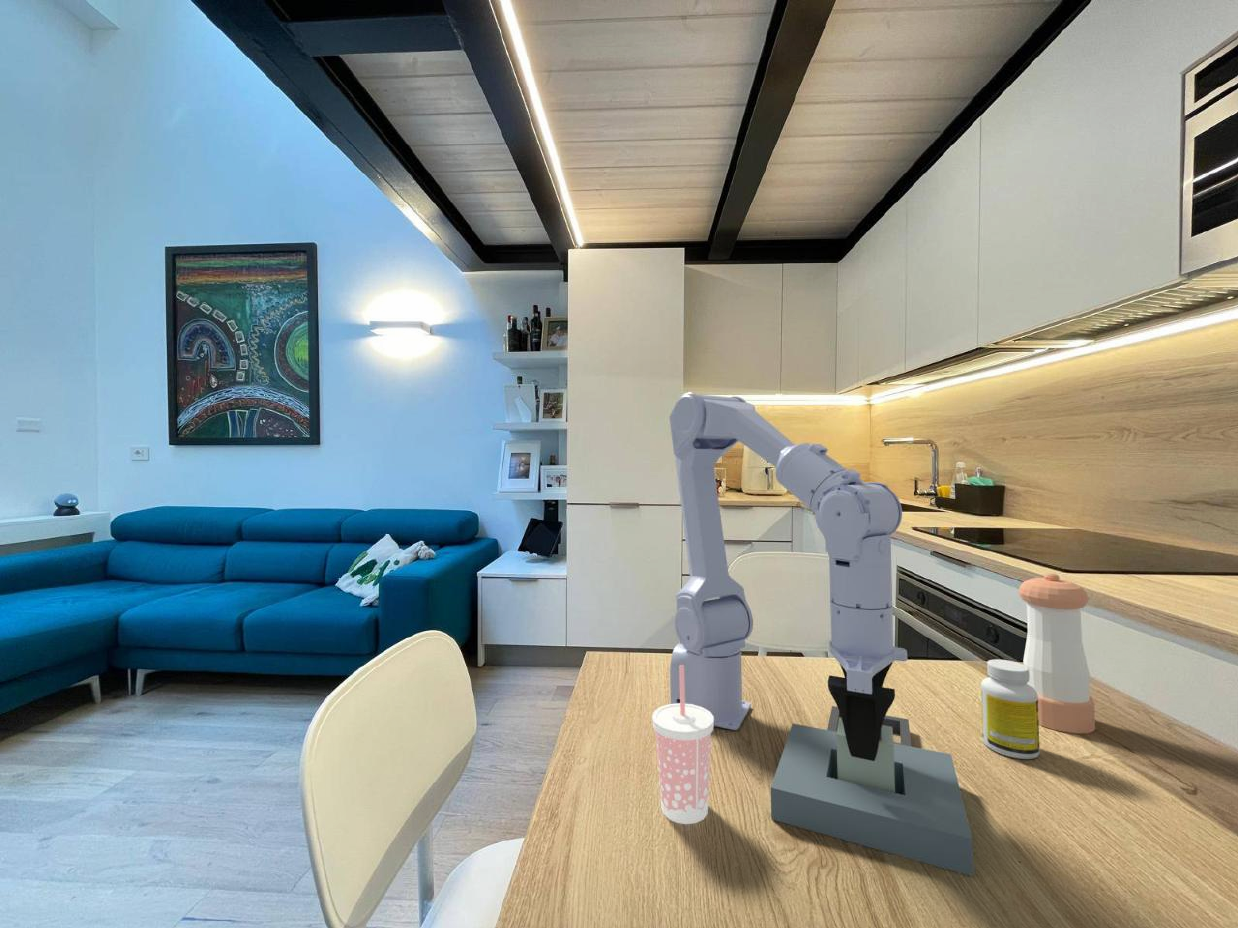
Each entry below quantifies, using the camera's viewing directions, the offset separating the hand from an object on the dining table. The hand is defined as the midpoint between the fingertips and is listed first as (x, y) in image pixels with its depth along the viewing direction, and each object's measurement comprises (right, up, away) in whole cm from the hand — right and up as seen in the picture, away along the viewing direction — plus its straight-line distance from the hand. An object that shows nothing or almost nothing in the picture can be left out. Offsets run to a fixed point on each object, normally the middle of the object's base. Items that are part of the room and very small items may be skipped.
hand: (863, 737), depth 51 cm
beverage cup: (-18, -7, -1) cm, 19 cm away
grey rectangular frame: (+6, -6, +12) cm, 15 cm away
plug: (0, -6, 0) cm, 6 cm away
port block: (0, -6, 0) cm, 6 cm away
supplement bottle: (+22, -6, +9) cm, 24 cm away
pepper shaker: (+33, -6, +16) cm, 37 cm away
